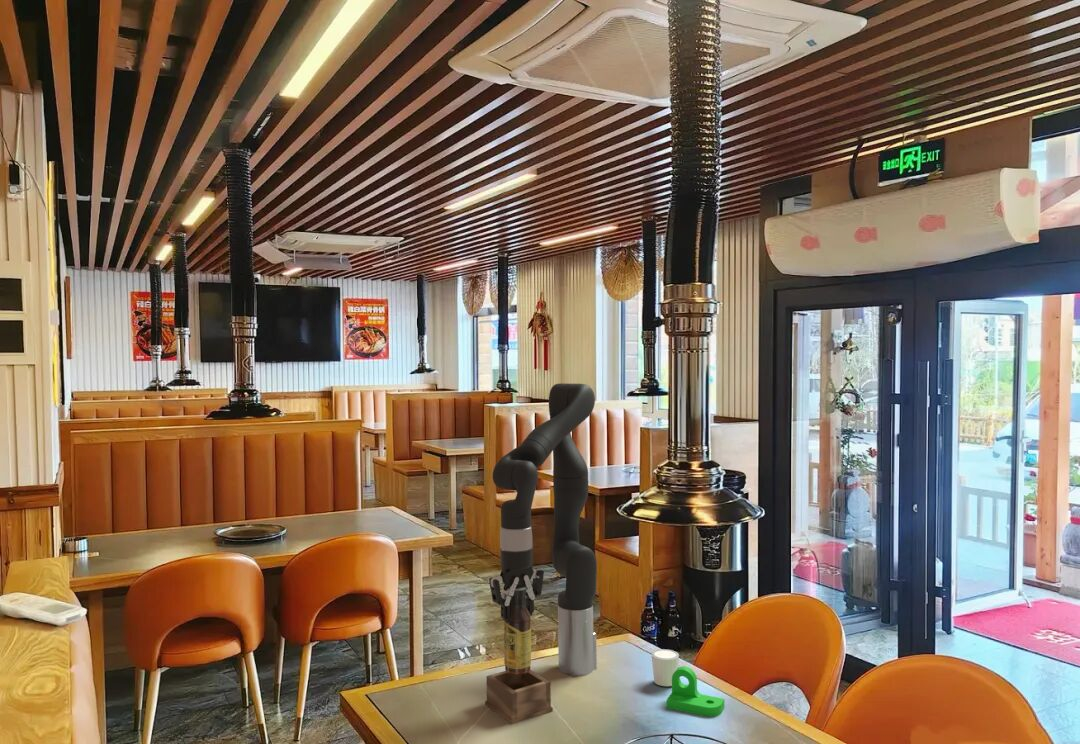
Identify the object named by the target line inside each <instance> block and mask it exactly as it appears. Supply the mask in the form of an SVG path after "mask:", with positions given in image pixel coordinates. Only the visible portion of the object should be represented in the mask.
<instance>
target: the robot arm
mask: <svg viewBox="0 0 1080 744" xmlns="http://www.w3.org/2000/svg"><path fill="white" fill-rule="evenodd" d="M595 402H596V397H595V393H594V390H593V388H592V387H591V386H590V385H588V384H584V383H564V382H563V383H555V384H553V385H552V387H551V388H550V390H549V395H548V413H549V419H548V420H546V421H545V422H542V423H541V424H539V425H538V426H536V427H535V428H534V429H533V430H532V431H531V432H530V433H529V434H528V435H527V436H526V438H525V439H524V440H523V441H522V442H521V444H520V445H519V446H517V447H515V448H514V449H512V450H511V451H509V452H508V453H506V454H505V455H504V456H502V457H500V458H499V460H498V461H497V463H495V465H494V467H493V470H492V481H493V483H494V485H495V486H496V488H499V489H501V490H506V491H516V492H517V493H516V496H515V499H508V500H506V501H505V500H504V501H503V502H502V503H501V505H500V534H499V541H500V542H499V544H500V545H499V548H500V549H499V551H500V553H499V554H500V555H499V557H500V568H501V571H500V574H499V576H495V577H490V578H489V580H488V583H489V587H490V594H491V600H492V602H493V603H495V604H497V605H498V606H500V617H501V619H502V620H503V621H506V622H508V621H510V606H509V603H510V600H511V597H512V596H513V595H514V590H515V589H516V588H521V587H526V608H527V609H528V611H529V613H530V617H532V616H533V613H535V599H536V597H540V596H541V595H542V590H543V583H544V575H545V571H544V570H543V569H540V568H538V567H535V568H533V567H532V566H533V565H534V558H533V557H534V551H533V550H534V547H533V544H534V543H533V539H534V538H533V532H532V531H533V530H532V506H533V501H534V496H535V492H536V489H537V485H538V481H539V472H538V468H540V467H541V466H542V465H543V464H544V463H545V461H547V459H548V457H550V455H552V467H553V468H552V483H553V487H552V488H553V513H554V514H553V515H554V517H553V519H554V521H553V523H554V524H553V525H554V526H553V538H552V539H553V540H552V551H551V561H552V562H551V563H552V566H553V568H554V570H555V571H556V572H557V573H558V574H559V575H560V576H562V577H565V590H562V591H561V592H559V593H558V596H557V627H558V628H557V630H558V631H557V633H558V634H557V637H558V640H557V641H558V642H557V643H558V646H557V647H558V670H559V671H560V672H561V673H563V674H565V675H566V676H573V677H582V676H588V675H590V674H593V672H594V671H595V670H597V669H598V665H597V664H598V659H597V657H598V654H597V649H598V648H597V645H598V643H597V633H596V632H595V631H594V598H595V596H596V591H597V576H598V575H597V574H598V573H597V572H598V570H597V569H598V564H597V558H596V555H595V552H594V551H593V550H592V549H591V548H590V547H587V546H585V545H582V544H580V532H579V523H580V518H581V515H582V512H583V510H584V507H585V506H586V502H587V500H588V495H589V470H588V469H589V467H588V465H587V462H586V461H585V459H584V456H583V455H582V454H581V452H580V450H579V448H578V446H577V445H576V444H575V443H576V442H575V441H574V440H573V437H572V434H571V433H572V432H573V431H574V430H575V429H577V428H578V426H579V425H581V424H582V423H583V422H584V421H585V420H587V419H588V417H589V416H590V415H591V413H593V411H594V407H595V404H596V403H595ZM551 453H552V454H551ZM531 579H532V584H531ZM502 583H503V585H502ZM501 586H502V588H501Z"/></svg>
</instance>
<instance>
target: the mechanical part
mask: <svg viewBox="0 0 1080 744" xmlns="http://www.w3.org/2000/svg"><path fill="white" fill-rule="evenodd" d="M681 677H683V678H686V679H687V681H688V684H685V683H683V682H682V681H681ZM666 708H668V709H670V710H676V711H680V712H685V713H690V714H691V713H692V714H695V715H700V716H704V717H716V716H720V715H721V714H722V712H723V710H724V709H725V698H723V697H722V698H721V697H717V696H711V695H707V694H701V693H700V692H699V690H698V679H697V675H696V672H695V671H694V670H693V669H692V668H690V667H688V666H685V665H683V666H678V669H677V670H676V671H675V672H674V673H673V675H672V686H671V693H670V694H669V696H668V697H667V698H666Z"/></svg>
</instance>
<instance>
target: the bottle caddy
mask: <svg viewBox="0 0 1080 744" xmlns="http://www.w3.org/2000/svg"><path fill="white" fill-rule="evenodd" d="M485 677H486V700H485V701H484V705H485V706H486V705H487V706H486V707H488V708H489V709H491V710H492V711H493V712H495V713H496V714H497V715H499V716H500V717H501V718H503V719H504V720H506V721H507V722H508V723H510V724H511V725H513V724H517V723H520V722H524V721H526V720H530V719H533V718H536V717H540V716H542V715H543V716H544V715H546V714H551V713H553V712H554V711H553V709H554V708H553V707H552V698H551V695H552V693H551V692H552V691H551V689H552V688H551V687H552V685H551V681H550V680H548V679H546V678H545V677H543V676H541V675H540V674H538V673H536V672H534V671H533V670H532V669H530V671H529V672H527V673H525V674H520V675H513V674H510V673H508V672H506V670H504V671H500V672H497V673H493V674H490V675H486V676H485Z"/></svg>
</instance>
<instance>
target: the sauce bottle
mask: <svg viewBox="0 0 1080 744" xmlns="http://www.w3.org/2000/svg"><path fill="white" fill-rule="evenodd" d="M509 606H510V621H508V622H506V621H504V620H503V621H504V623H503V624H504V629H503V630H504V631H503V632H504V633H503V634H504V635H503V637H504V638H503V639H504V641H503V643H504V644H503V646H504V650H503V651H504V652H503V653H504V654H503V655H504V656H503V657H504V658H503V659H504V663H503V664H504V669H505V670H504V671H506V672H508V673H510V674H513V675H520V674H525V673H527V672H529V671H530V670H531V665H532V627H531V626H532V625H531V620H532V619H531V617H532V616H530V613H529V611H528V609H527V608H526V587H521V588H516V589H515V590H514V595H513V596H512V597H511V600H510V603H509Z"/></svg>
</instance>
